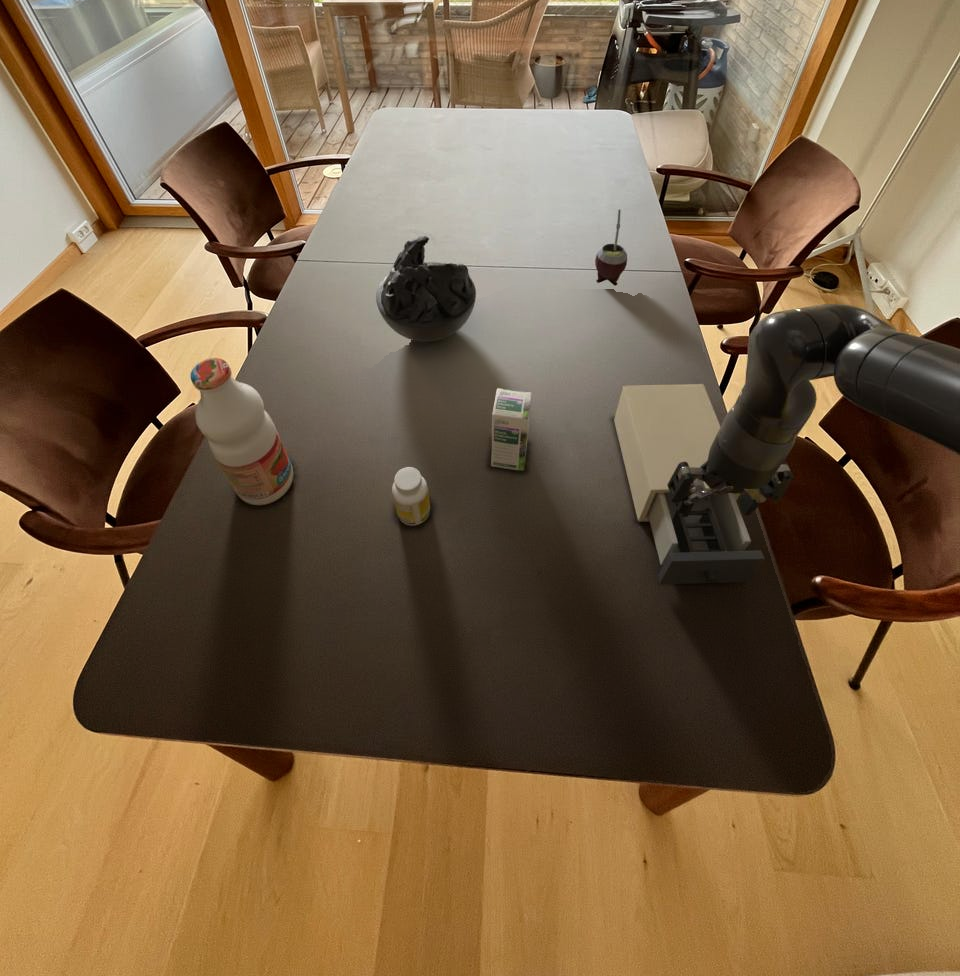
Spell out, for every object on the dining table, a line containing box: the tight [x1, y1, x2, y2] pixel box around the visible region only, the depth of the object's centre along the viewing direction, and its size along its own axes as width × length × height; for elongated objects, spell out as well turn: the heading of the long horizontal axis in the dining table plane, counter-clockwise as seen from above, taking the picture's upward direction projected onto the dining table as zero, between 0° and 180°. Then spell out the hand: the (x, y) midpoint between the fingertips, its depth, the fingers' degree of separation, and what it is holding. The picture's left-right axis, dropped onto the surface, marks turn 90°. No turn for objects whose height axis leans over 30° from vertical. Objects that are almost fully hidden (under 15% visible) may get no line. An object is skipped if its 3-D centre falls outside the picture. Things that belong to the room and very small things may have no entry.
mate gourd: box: [594, 209, 628, 286], centre depth 128 cm, size 8×8×15 cm
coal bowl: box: [375, 235, 477, 343], centre depth 114 cm, size 20×20×19 cm
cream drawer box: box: [613, 383, 742, 523], centre depth 94 cm, size 20×14×10 cm
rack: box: [672, 508, 725, 553], centre depth 84 cm, size 5×7×4 cm
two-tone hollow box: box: [647, 492, 765, 585], centre depth 86 cm, size 20×13×8 cm, turn 2°
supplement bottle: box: [391, 466, 431, 526], centre depth 88 cm, size 5×5×10 cm
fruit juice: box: [190, 357, 294, 506], centre depth 85 cm, size 9×9×28 cm
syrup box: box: [490, 387, 533, 472], centre depth 94 cm, size 6×6×14 cm
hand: (712, 510), depth 78 cm, fingers open, 8 cm apart
